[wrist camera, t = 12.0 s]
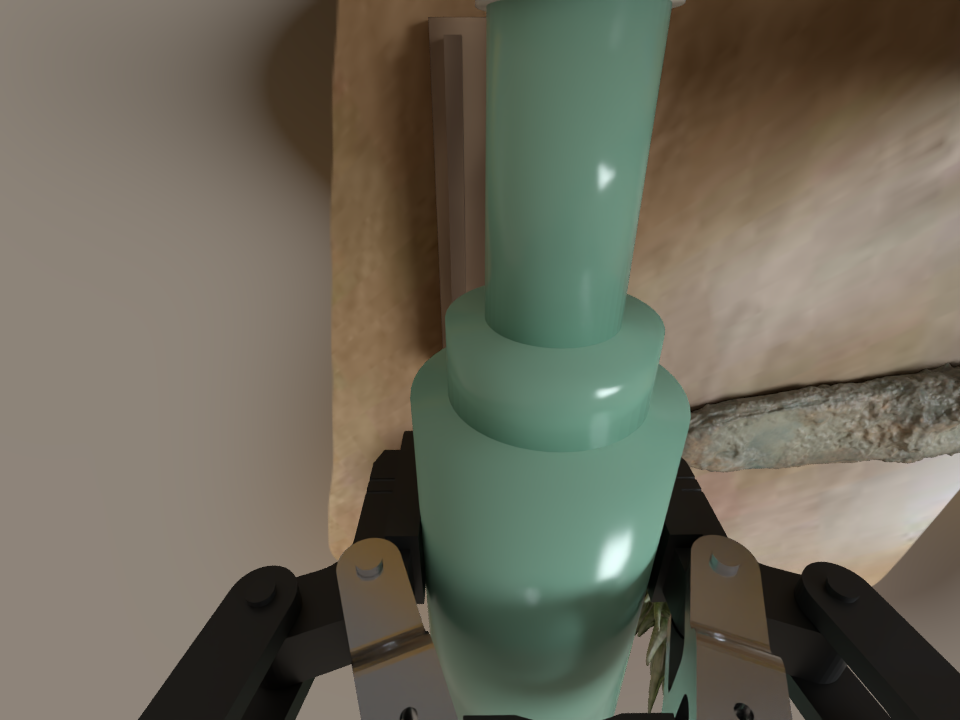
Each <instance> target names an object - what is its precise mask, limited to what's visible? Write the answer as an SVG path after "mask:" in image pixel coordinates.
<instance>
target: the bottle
mask: <svg viewBox="0 0 960 720" xmlns="http://www.w3.org/2000/svg"><path fill="white" fill-rule="evenodd" d="M685 1H686V0H475V7H476V8H477V9H480V10H483V11H486V161H485V285H484V286H481V287H478V288H476V289H473V290H471V291H469V292H467V293H465V294H463V295H461V296H460V297H458V298H457V299H456V300H455V301H454V302H453V303H452V304H451V305H450V306H449V308H448V309H447V311H446V315H445V329H446V348H444V349H442V350H441V351H439V352H438V353H436V354H435V355H433V356H432V357H431V358H430V359H429V360H428V361H426V362H425V364H424V365H423V366H422V367H421V368H420V370H419V371H418V373H417V375H416V376H415V378H414V381H413V384H412V387H411V397H410V400H411V412H412V424H413V436H414V448H415V460H416V472H417V484H418V496H419V508H420V515H421V527H422V539H423V552H424V564H425V576H426V591H427V604H428V616H429V628H430V636H431V638H432V641H433V644H434V647H435V650H436V653H437V656H438V659H439V662H440V665H441V668H442V671H443V674H444V678H445V681H446V684H447V687H448V690H449V693H450V696H451V699H452V702H453V705H454V708H455V711H456V715H457V718H458V720H463V715H517V716H521V717H525V718H528V719H532V720H604V719H607V718H610V717H613V716H614V713H615V708H616V705H617V701H618V697H619V693H620V690H621V686H622V682H623V678H624V674H625V670H626V667H627V663H628V659H629V655H630V651H631V647H632V644H633V640H634V636H635V632H636V628H637V624H638V621H639V617H640V613H641V609H642V605H643V602H644V598H645V594H646V590H647V586H648V582H649V579H650V575H651V571H652V567H653V563H654V559H655V556H656V552H657V548H658V544H659V540H660V536H661V533H662V529H663V525H664V521H665V517H666V513H667V510H668V506H669V502H670V498H671V494H672V490H673V487H674V483H675V479H676V475H677V471H678V467H679V464H680V460H681V456H682V452H683V448H684V444H685V441H686V437H687V433H688V429H689V424H690V419H691V414H690V405H689V402H688V399H687V396H686V394H685V392H684V390H683V389H682V387H681V385H680V384H679V383H678V382H677V380H676V379H675V378H674V377H673V376H672V375H671V374H670V373H669V372H668V371H667V370H666V369H665V368H664V367H662V366H661V365H660V364H659V360H660V355H661V350H662V345H663V340H664V335H665V327H664V324H663V321H662V320H661V318H660V316H659V315H658V314H657V313H656V312H655V311H654V310H653V309H652V308H651V307H649V306H648V305H647V304H645V303H644V302H642V301H641V300H639V299H637V298H635V297H633V296H631V295H629V294H627V289H628V283H629V277H630V270H631V264H632V258H633V251H634V245H635V239H636V232H637V226H638V220H639V213H640V207H641V200H642V194H643V188H644V181H645V175H646V169H647V162H648V156H649V150H650V143H651V137H652V131H653V124H654V118H655V112H656V105H657V99H658V92H659V86H660V80H661V73H662V67H663V61H664V54H665V48H666V42H667V35H668V29H669V23H670V16H671V10H672V8H675V7H679V6H681V5H683V4H685Z"/></svg>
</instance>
